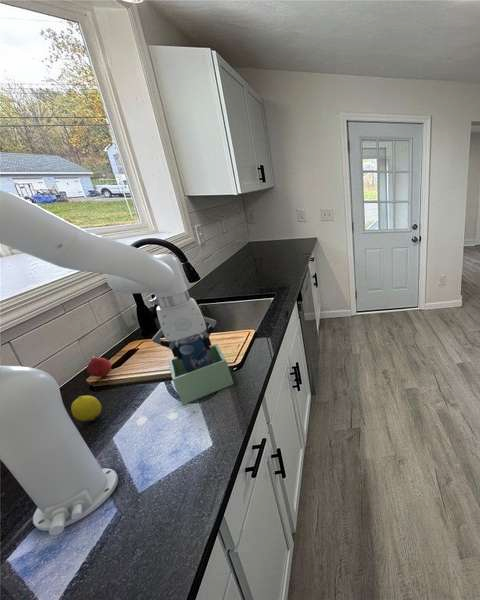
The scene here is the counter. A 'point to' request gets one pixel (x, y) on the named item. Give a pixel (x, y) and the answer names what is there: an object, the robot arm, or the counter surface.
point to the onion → (98, 367)
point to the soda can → (193, 353)
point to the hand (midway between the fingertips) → (194, 352)
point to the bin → (201, 377)
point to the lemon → (86, 408)
